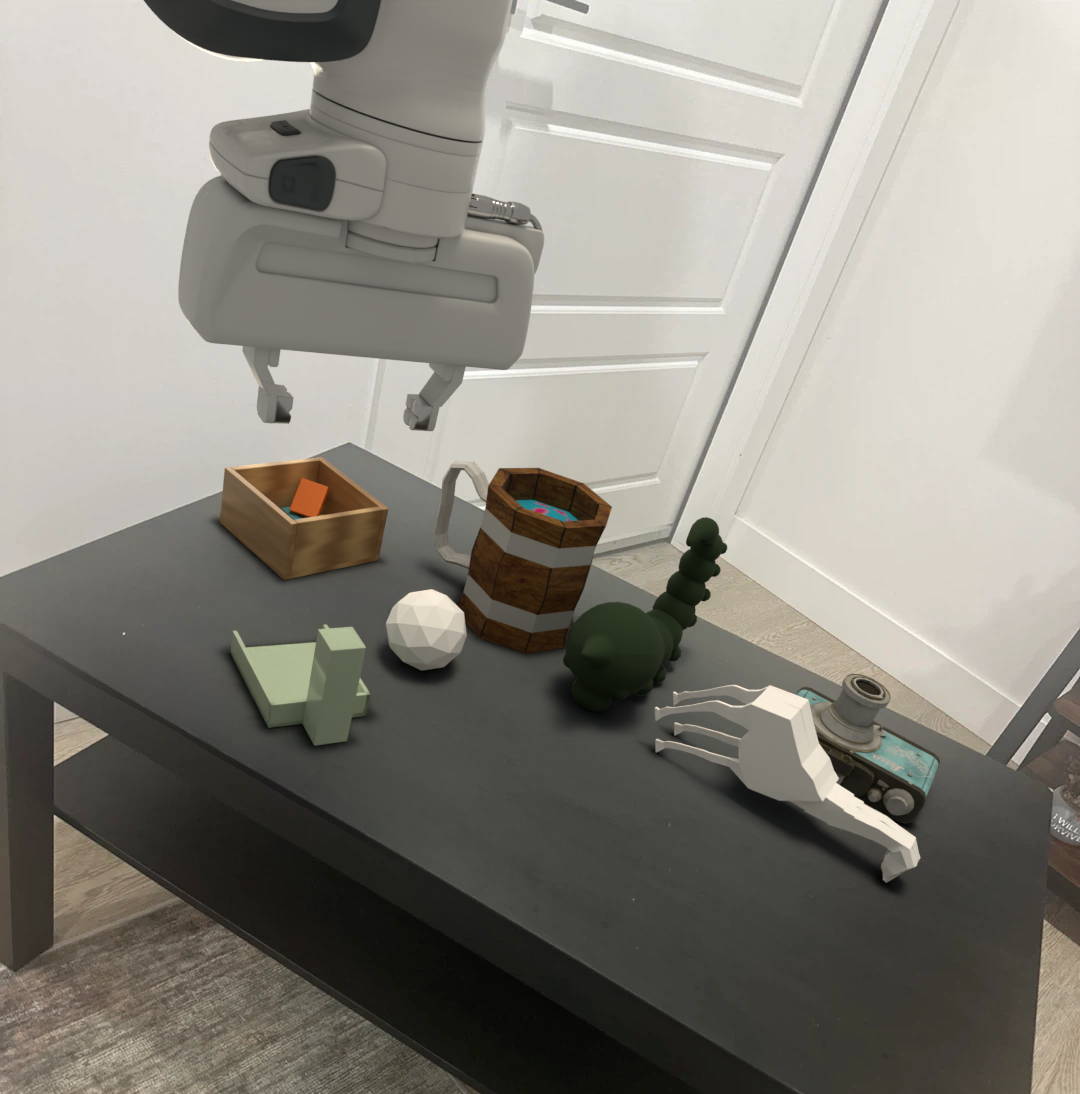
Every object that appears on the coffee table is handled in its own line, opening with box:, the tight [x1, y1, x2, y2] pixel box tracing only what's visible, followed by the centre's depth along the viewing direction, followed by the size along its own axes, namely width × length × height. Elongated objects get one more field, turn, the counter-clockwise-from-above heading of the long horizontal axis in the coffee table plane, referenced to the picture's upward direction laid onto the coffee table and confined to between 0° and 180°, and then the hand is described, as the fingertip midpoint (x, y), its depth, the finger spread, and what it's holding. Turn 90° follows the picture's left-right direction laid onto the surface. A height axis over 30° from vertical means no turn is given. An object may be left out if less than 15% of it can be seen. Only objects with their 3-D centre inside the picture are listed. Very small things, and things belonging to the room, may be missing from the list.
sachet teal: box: [281, 507, 307, 520], centre depth 111 cm, size 4×3×1 cm
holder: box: [219, 456, 389, 581], centre depth 107 cm, size 12×12×7 cm
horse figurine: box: [654, 684, 921, 884], centre depth 92 cm, size 5×16×25 cm
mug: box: [433, 460, 613, 654], centre depth 105 cm, size 20×14×15 cm
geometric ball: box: [385, 588, 468, 672], centre depth 95 cm, size 8×8×8 cm
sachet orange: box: [290, 478, 329, 518], centre depth 111 cm, size 4×3×1 cm
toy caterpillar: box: [562, 516, 728, 713], centre depth 99 cm, size 9×19×25 cm
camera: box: [794, 673, 941, 824], centre depth 100 cm, size 16×10×10 cm
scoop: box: [230, 623, 371, 746], centre depth 85 cm, size 14×9×10 cm, turn 30°
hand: (348, 423), depth 60 cm, fingers open, 8 cm apart
